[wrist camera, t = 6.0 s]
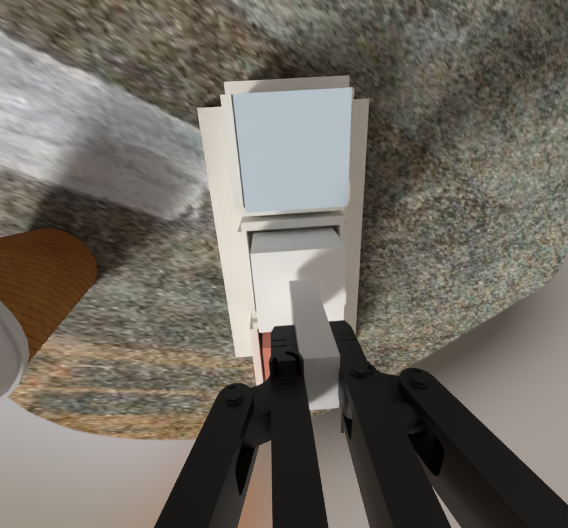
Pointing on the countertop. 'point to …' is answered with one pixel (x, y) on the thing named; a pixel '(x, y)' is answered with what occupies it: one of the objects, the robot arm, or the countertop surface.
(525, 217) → the countertop surface
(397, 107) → the countertop surface
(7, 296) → the disposable coffee cup
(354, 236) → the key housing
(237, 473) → the robot arm
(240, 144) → the pale blue key
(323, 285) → the white key
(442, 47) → the countertop surface
